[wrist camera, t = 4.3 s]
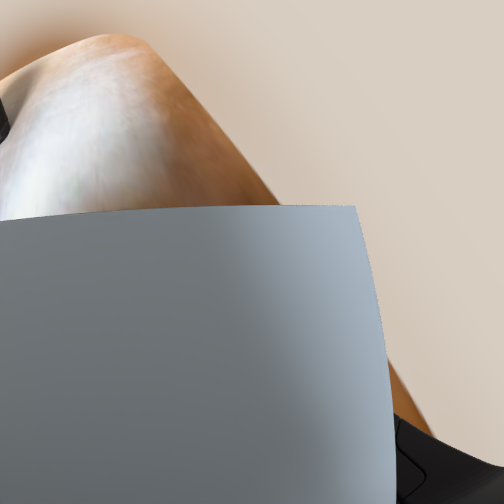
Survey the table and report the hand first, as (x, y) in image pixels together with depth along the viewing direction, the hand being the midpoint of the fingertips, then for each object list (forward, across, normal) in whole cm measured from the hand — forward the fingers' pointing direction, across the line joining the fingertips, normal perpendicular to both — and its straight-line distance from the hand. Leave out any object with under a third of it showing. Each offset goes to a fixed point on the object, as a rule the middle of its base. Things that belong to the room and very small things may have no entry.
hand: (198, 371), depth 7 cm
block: (+4, 0, +6) cm, 7 cm away
